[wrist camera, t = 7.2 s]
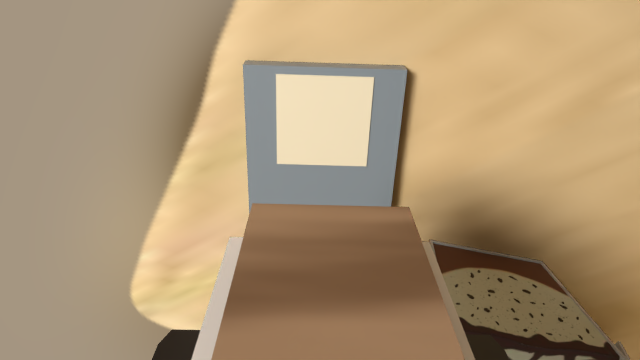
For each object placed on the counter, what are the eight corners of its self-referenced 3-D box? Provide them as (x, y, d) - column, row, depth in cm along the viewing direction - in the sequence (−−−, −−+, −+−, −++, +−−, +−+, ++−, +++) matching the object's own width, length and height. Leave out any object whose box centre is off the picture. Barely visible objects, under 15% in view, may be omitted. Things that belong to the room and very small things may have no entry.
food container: (387, 297, 37) (409, 406, 28) (410, 235, 34) (443, 335, 25) (527, 321, 38) (591, 433, 29) (559, 264, 35) (641, 368, 26)
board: (245, 60, 28) (242, 64, 27) (404, 65, 28) (407, 70, 27) (256, 314, 38) (254, 325, 36) (375, 316, 38) (376, 328, 37)
